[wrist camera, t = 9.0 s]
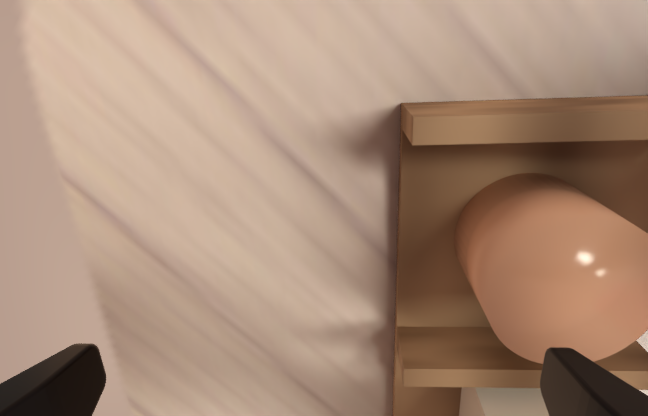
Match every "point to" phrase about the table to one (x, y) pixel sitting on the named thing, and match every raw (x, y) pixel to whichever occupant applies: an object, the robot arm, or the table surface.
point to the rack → (450, 200)
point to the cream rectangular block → (502, 402)
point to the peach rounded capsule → (554, 267)
